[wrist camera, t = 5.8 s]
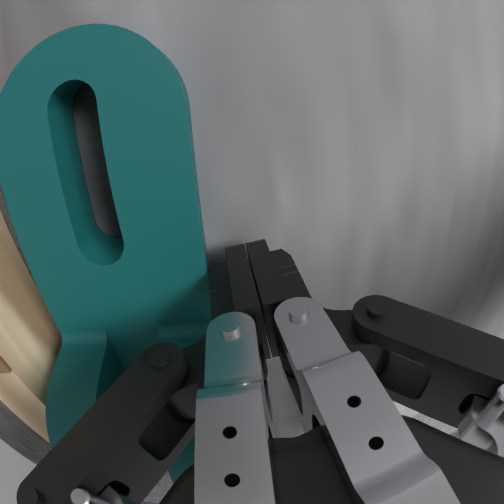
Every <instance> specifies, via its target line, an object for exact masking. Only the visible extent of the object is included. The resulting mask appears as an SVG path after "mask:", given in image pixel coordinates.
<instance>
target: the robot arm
mask: <svg viewBox="0 0 504 504" xmlns="http://www.w3.org/2000/svg"><path fill="white" fill-rule="evenodd" d="M245 244H246V249H247V254H248V257H247V254H246V250H245V246H244V244H240V245H236V246H231V247H227V248H225V253H226V260H227V261H225V262H221V263H216V264H213V266H212V268H211V270H210V271H209V273H208V275H209V291H210V306H211V319H212V321H211V323H210V324H209V325H208V327H207V331H206V335H205V336H204V337H203V338H202V339H201V340H199V341H198V342H196V343H194V344H192V345H190V346H188V347H186V348H184V349H181V348H180V347H179V346H177V345H176V344H173V343H169V342H163V343H158V344H155V345H152V346H150V347H149V348H147V349H146V350H145V351H144V352H143V353H142V354H141V355H140V356H139V357H138V358H137V359H136V360H135V361H134V362H133V363H132V364H131V365H130V366H129V367H128V368H127V369H126V371H125V372H124V373H123V374H122V375H121V376H120V377H119V378H118V379H117V380H116V381H115V382H114V383H113V384H112V385H111V386H110V387H109V389H108V390H107V391H106V392H105V393H104V394H103V395H102V396H101V397H100V398H99V399H98V400H97V401H96V402H95V403H94V405H93V406H92V407H91V408H90V409H89V410H88V411H87V412H86V413H85V414H84V415H83V416H82V417H81V418H80V419H79V421H78V422H77V423H76V424H75V425H74V426H73V427H72V428H71V429H70V430H69V431H68V432H67V433H66V435H65V436H64V437H63V438H62V439H61V440H60V441H59V442H58V443H57V444H56V445H55V446H54V447H53V449H52V450H51V451H50V452H49V453H48V454H47V455H46V456H45V457H44V458H43V459H42V460H41V462H40V463H39V464H38V465H37V466H36V467H35V468H34V469H33V470H32V471H31V473H30V474H29V475H28V476H27V477H26V478H25V479H24V480H23V481H22V483H21V484H20V486H19V488H18V491H17V504H140V503H141V502H142V501H143V500H144V499H145V497H146V496H147V495H148V494H149V493H150V491H151V490H152V489H153V488H154V487H155V485H156V484H157V483H158V482H159V480H160V479H161V478H162V477H163V475H164V474H165V473H166V472H167V470H168V469H169V468H170V467H171V465H172V464H173V463H174V462H175V460H176V459H177V458H178V457H179V455H180V454H181V453H182V451H183V450H184V449H185V448H186V446H187V445H188V444H189V442H190V441H191V440H192V438H193V437H194V436H195V461H194V464H193V465H191V466H190V467H189V468H188V469H186V470H185V471H184V472H183V473H182V474H181V475H180V476H179V478H178V479H177V480H176V481H175V483H174V484H173V486H172V487H171V488H170V490H169V491H168V492H167V494H166V495H165V496H164V498H163V499H162V500H161V502H160V503H159V504H504V339H501V338H498V337H496V336H493V335H490V334H487V333H485V332H482V331H479V330H476V329H474V328H471V327H468V326H465V325H463V324H460V323H457V322H454V321H452V320H449V319H446V318H443V317H441V316H438V315H435V314H432V313H430V312H427V311H424V310H421V309H419V308H416V307H413V306H410V305H408V304H405V303H402V302H399V301H396V300H394V299H391V298H388V297H385V296H380V295H371V296H366V297H364V298H362V299H360V300H358V301H357V302H356V303H355V305H354V307H353V310H329V309H325V308H323V307H322V306H321V305H320V303H318V302H317V301H316V300H314V299H312V298H311V296H310V294H309V292H308V290H307V288H306V286H305V283H304V281H303V279H302V277H301V275H300V273H299V272H298V269H297V267H296V265H295V263H294V261H293V259H292V257H291V255H290V254H288V253H287V252H285V251H284V250H282V249H279V250H275V251H269V249H268V246H267V243H266V241H265V239H263V240H258V241H254V242H249V243H245ZM248 259H249V261H248ZM249 264H250V265H249ZM265 330H266V331H265ZM266 334H267V337H266ZM267 338H268V342H269V345H270V349H271V353H272V357H276V356H280V360H281V363H282V368H283V374H284V378H285V380H286V383H287V385H288V388H289V390H290V393H291V395H292V398H293V401H294V403H295V406H296V408H297V411H298V413H299V416H300V418H301V421H302V424H303V428H304V432H305V433H304V434H302V435H300V436H298V437H295V438H276V433H275V427H274V421H273V414H272V406H271V399H270V392H269V385H268V379H267V375H268V369H267V364H266V360H265V359H268V358H271V357H270V352H269V347H268V342H267ZM397 354H398V355H397ZM402 356H403V357H402ZM409 359H410V360H409ZM414 361H415V362H414ZM419 363H420V364H419ZM393 401H394V402H397V403H399V404H401V405H403V406H405V407H408V408H410V409H412V410H415V411H417V412H419V413H422V414H424V415H426V416H429V417H431V418H433V419H436V420H438V421H441V422H443V423H446V424H448V425H451V426H453V427H456V428H458V434H459V437H460V439H458V438H456V437H453V436H451V435H449V434H447V433H444V432H442V431H440V430H438V429H436V428H433V427H431V426H429V425H427V424H425V423H423V422H421V421H419V420H416V419H414V418H411V417H408V416H404V415H401V414H400V413H399V411H398V409H397V408H396V406H395V405H394V403H393Z"/></svg>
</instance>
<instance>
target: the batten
mask: <svg viewBox="0 0 504 504" xmlns="http://www.w3.org/2000/svg"><path fill="white" fill-rule="evenodd" d="M61 346H62V336H61V333H60V331H59V329H58V327H57V326H56V324H55V322H54V320H53V318H52V316H51V314H50V312H49V310H48V308H47V306H46V304H45V302H44V300H43V298H42V296H41V294H40V292H39V289H38V287H37V285H36V284H35V282H34V280H33V278H32V276H31V274H30V273H29V271H28V269H27V267H26V265H25V263H24V261H23V259H22V257H21V255H20V253H19V251H18V249H17V247H16V245H15V243H14V240H13V238H12V236H11V234H10V232H9V229H8V227H7V225H6V222H5V220H4V218H3V215H2V213H1V210H0V400H1V401H2V402H3V403H4V404H5V405H6V406H7V407H8V408H9V409H10V410H11V411H12V412H14V413H15V414H16V415H17V416H18V417H19V418H20V419H21V420H22V421H23V422H25V423H26V424H27V425H28V426H29V427H30V428H31V429H33V430H34V431H35V432H36V433H37V434H39V435H40V436H41V437H42V438H44V439H45V440H46V441H47V442H49V443H50V441H49V437H48V432H47V425H46V395H47V389H48V385H49V381H50V378H51V375H52V372H53V369H54V366H55V363H56V360H57V357H58V354H59V351H60V348H61Z"/></svg>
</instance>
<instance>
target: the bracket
mask: <svg viewBox="0 0 504 504" xmlns="http://www.w3.org/2000/svg"><path fill="white" fill-rule="evenodd" d="M84 83H87V84H89V85H90V86H91V88H92V89H93V91H94V93H95V95H96V100H97V108H98V116H99V123H100V130H101V136H102V143H103V149H104V154H105V160H106V165H107V171H108V176H109V181H110V186H111V190H112V195H113V200H114V204H115V208H116V213H117V217H118V221H119V225H120V229H121V233H122V237H111V236H108V235H106V234H104V233H103V232H102V231H101V230H100V229H99V228H98V226H97V224H96V222H95V218H94V214H93V210H92V206H91V202H90V198H89V194H88V190H87V186H86V181H85V177H84V172H83V167H82V162H81V157H80V152H79V146H78V141H77V135H76V129H75V122H74V115H73V107H72V103H73V98H74V95H75V93H76V91H77V90H78V89H79V87H80V86H82V85H83V84H84ZM0 184H1V188H2V191H3V195H4V198H5V202H6V205H7V209H8V212H9V215H10V218H11V221H12V224H13V227H14V230H15V233H16V236H17V238H18V241H19V244H20V247H21V249H22V252H23V254H24V257H25V259H26V262H27V264H28V267H29V269H30V271H31V274H32V276H33V278H34V281H35V283H36V285H37V287H38V289H39V292H40V294H41V296H42V298H43V300H44V302H45V304H46V306H47V308H48V310H49V312H50V314H51V316H52V318H53V320H54V322H55V324H56V326H57V327H58V329H59V331H60V333H61V336H62V346H61V348H60V351H59V354H58V357H57V360H56V363H55V366H54V369H53V372H52V375H51V378H50V381H49V385H48V389H47V395H46V425H47V432H48V437H49V441H50V445H51V448H52V449H53V447H54V446H55V445H56V444H57V443H58V442H59V441H60V440H61V439H62V438H63V437H64V436H65V435H66V433H67V432H68V431H69V430H70V429H71V428H72V427H73V426H74V425H75V424H76V423H77V422H78V421H79V419H80V418H81V417H82V416H83V415H84V414H85V413H86V412H87V411H88V410H89V409H90V408H91V407H92V406H93V405H94V403H95V402H96V401H97V400H98V399H99V398H100V397H101V396H102V395H103V394H104V393H105V392H106V391H107V390H108V389H109V387H110V386H111V385H112V384H113V383H114V382H115V381H116V380H117V379H118V378H119V377H120V376H121V375H122V374H123V373H124V372H125V371H126V369H127V368H128V367H129V366H130V365H131V364H132V363H133V362H134V361H135V360H136V359H137V358H138V357H139V356H140V355H141V354H142V353H143V352H144V351H145V350H146V349H147V348H149V347H150V346H152V345H155V344H158V343H163V342H169V343H173V344H176V345H177V346H179V347H180V348H181V349H184V348H186V347H188V346H190V345H192V344H194V343H196V342H198V341H199V340H201V339H202V338H203V337H204V336H205V335H206V331H207V327H208V325H209V324H210V323H211V321H212V319H211V306H210V291H209V275H208V273H209V266H208V259H207V252H206V245H205V237H204V230H203V222H202V215H201V207H200V199H199V191H198V182H197V174H196V165H195V156H194V146H193V136H192V126H191V115H190V106H189V99H188V95H187V91H186V88H185V85H184V83H183V80H182V78H181V76H180V74H179V72H178V70H177V69H176V68H175V66H174V65H173V63H172V62H171V61H170V60H169V59H168V58H167V57H166V55H164V54H163V53H162V52H161V51H160V50H159V49H158V48H156V47H155V46H154V45H153V44H152V43H150V42H149V41H148V40H147V39H145V38H143V37H142V36H140V35H139V34H137V33H134V32H132V31H130V30H128V29H125V28H121V27H118V26H113V25H107V24H87V25H80V26H76V27H71V28H68V29H66V30H63V31H60V32H58V33H56V34H54V35H52V36H50V37H48V38H47V39H45V40H44V41H42V42H40V43H39V44H38V45H37V46H35V47H34V48H33V49H32V50H31V51H29V52H28V53H27V54H26V55H25V56H24V57H23V58H22V60H21V61H20V62H19V63H18V64H17V66H16V67H15V68H14V70H13V71H12V73H11V74H10V76H9V78H8V79H7V81H6V83H5V85H4V87H3V89H2V92H1V94H0ZM194 461H195V436H194V437H193V438H192V440H191V441H190V442H189V444H188V445H187V446H186V448H185V449H184V450H183V451H182V453H181V454H180V455H179V457H178V458H177V459H176V460H175V462H174V463H173V464H172V465H171V467H170V468H169V469H168V471H169V474H170V476H171V479H172V481H173V483H175V481H176V480H177V479H178V478H179V476H180V475H181V474H182V473H183V472H184V471H185V470H186V469H188V468H189V467H190V466H191V465H193V464H194Z"/></svg>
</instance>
